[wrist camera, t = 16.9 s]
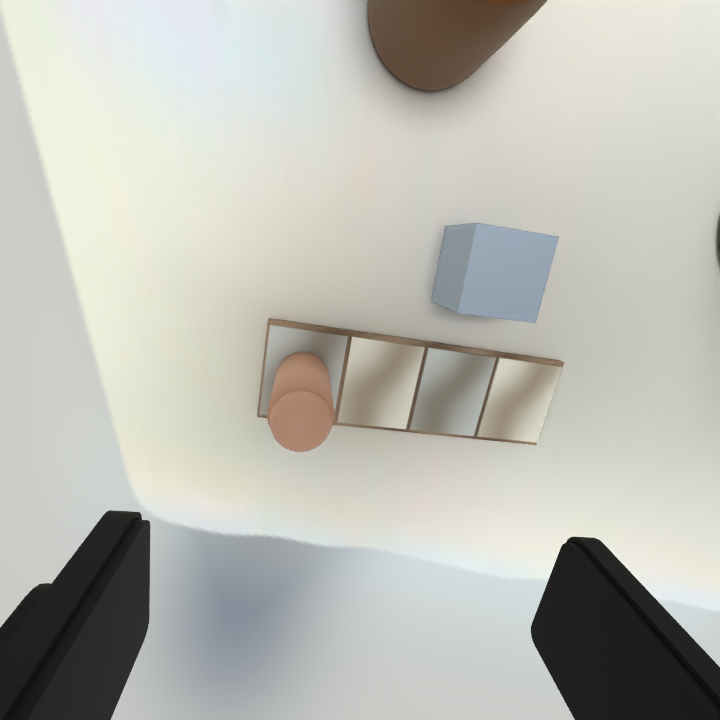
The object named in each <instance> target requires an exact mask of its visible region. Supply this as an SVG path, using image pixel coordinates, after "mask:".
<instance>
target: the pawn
mask: <svg viewBox="0 0 720 720" xmlns="http://www.w3.org/2000/svg"><path fill="white" fill-rule="evenodd" d="M334 417H335V411H334V404H333V398H332V391H331V384H330V378H329V371H328V368H327V366H326V364H325V362H324V361H323V360H322V359H321V358H320V357H318V356H317V355H315V354H313V353H309V352H296V353H293V354H290V355H288V356H287V357H286V358H284V359H283V360H282V361H281V363H280V364H279V366H278V368H277V372H276V376H275V381H274V385H273V390H272V394H271V398H270V403H269V407H268V412H267V418H268V423H269V426H270V428H271V431H272V434H273V436H274V437H275V439H276V440H277V442H278V443H279V444H281V445H282V446H283V447H285V448H286V449H289V450H292V451H296V452H304V451H309V450H312V449H314V448H316V447H317V446H319V445H320V444H321V443H322V442H323V441H324V440H325V439H326V437H327V436H328V434H329V432H330V429H331V427H332V425H333V422H334Z"/></svg>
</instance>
